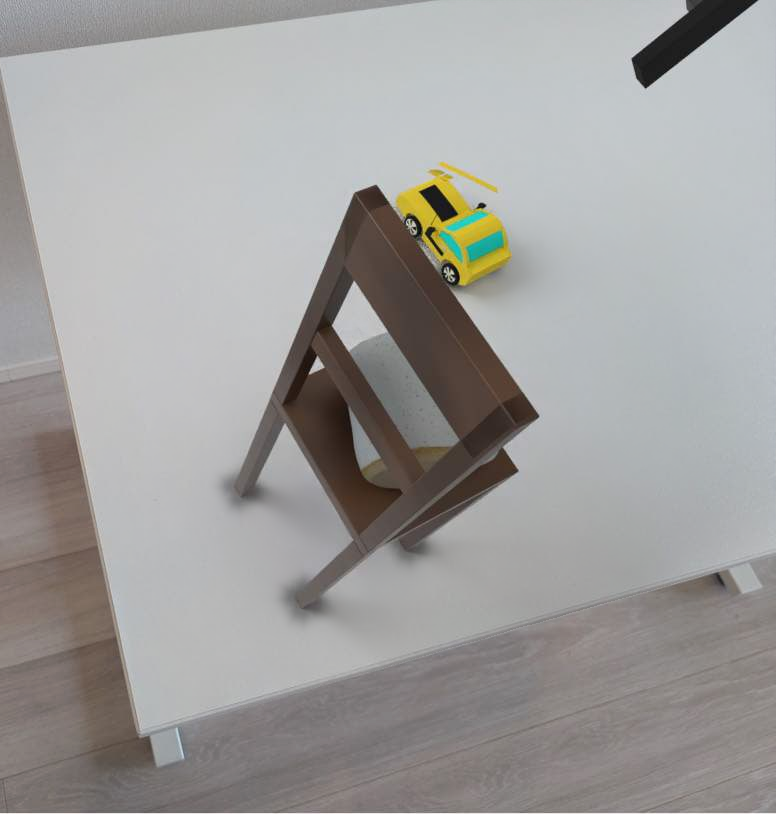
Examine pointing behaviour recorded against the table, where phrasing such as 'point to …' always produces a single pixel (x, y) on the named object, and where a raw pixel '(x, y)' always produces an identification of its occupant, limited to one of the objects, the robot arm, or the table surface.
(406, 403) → the ceramic mug
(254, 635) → the table surface
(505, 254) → the toy car
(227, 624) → the table surface
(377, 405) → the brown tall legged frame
